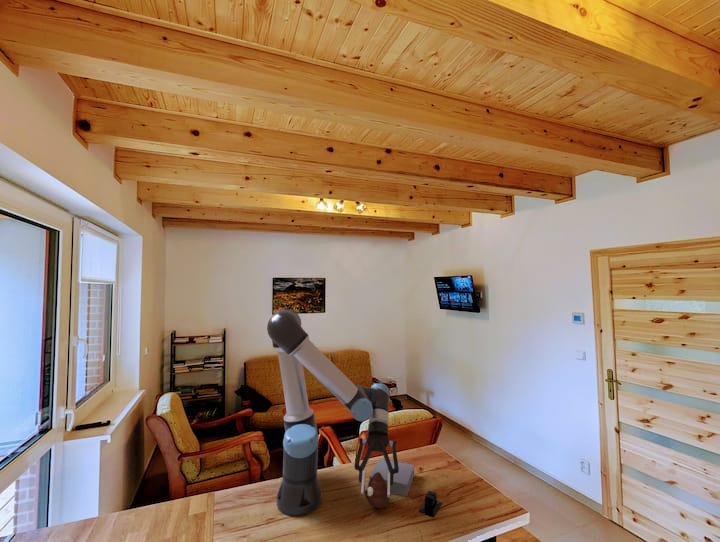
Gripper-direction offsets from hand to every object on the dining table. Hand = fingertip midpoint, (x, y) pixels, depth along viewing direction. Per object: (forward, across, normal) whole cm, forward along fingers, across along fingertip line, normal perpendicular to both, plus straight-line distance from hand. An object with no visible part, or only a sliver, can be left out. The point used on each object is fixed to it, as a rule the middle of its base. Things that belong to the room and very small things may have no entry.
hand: (375, 494), depth 108 cm
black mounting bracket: (+1, -19, -8) cm, 20 cm away
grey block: (-9, -6, -17) cm, 20 cm away
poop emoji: (0, 0, -6) cm, 6 cm away
